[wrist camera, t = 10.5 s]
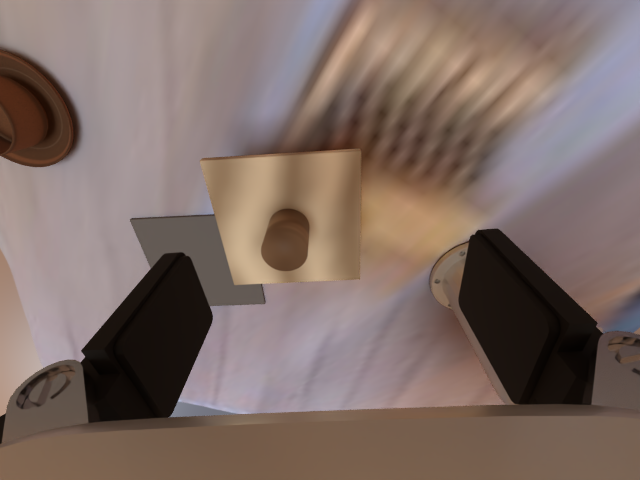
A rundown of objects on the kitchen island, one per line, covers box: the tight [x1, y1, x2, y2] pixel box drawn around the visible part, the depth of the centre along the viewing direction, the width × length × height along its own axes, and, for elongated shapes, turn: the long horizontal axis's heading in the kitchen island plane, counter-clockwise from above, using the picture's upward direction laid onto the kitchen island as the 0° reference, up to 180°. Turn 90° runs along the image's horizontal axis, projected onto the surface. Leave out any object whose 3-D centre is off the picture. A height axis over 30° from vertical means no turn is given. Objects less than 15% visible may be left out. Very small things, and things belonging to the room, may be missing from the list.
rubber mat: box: [130, 215, 265, 306], centre depth 44 cm, size 16×16×1 cm
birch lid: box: [200, 149, 361, 285], centre depth 27 cm, size 14×14×5 cm
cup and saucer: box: [0, 50, 73, 167], centre depth 31 cm, size 12×12×6 cm
